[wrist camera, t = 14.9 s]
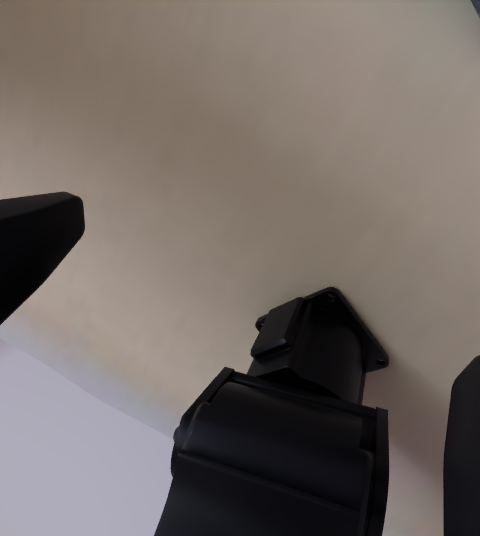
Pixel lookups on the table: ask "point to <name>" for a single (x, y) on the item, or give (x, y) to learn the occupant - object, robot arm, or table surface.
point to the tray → (476, 5)
